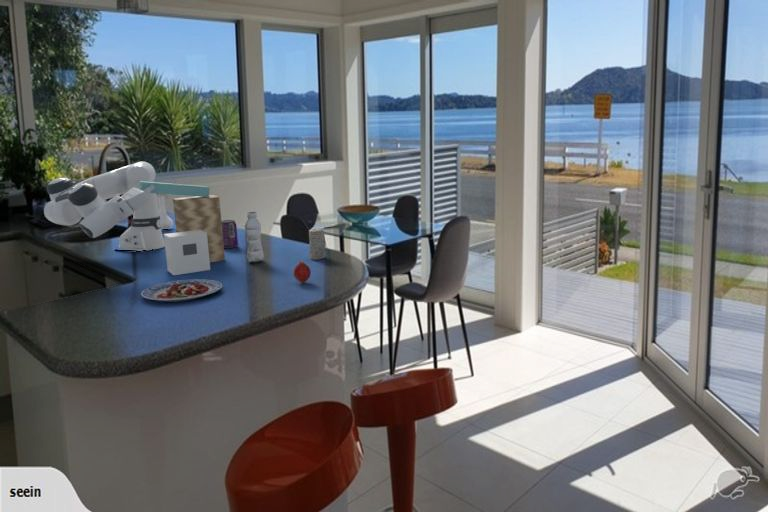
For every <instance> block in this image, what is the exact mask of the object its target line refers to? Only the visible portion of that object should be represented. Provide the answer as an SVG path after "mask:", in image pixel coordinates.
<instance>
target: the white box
mask: <svg viewBox="0 0 768 512" xmlns="http://www.w3.org/2000/svg"><path fill="white" fill-rule="evenodd" d="M163 239H164V242H165V247H164V249H165V257H166V268H167V272H169V273H170V274H171V275H172V276H178V275H184V274H192V273H197V272H205V271H211V262H210V260H209V250H208V239H207V233H206V232H204V231H202V230H193V231H185V232H177V233H176V232H170V233H163Z"/></svg>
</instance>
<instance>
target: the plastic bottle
mask: <svg viewBox="0 0 768 512" xmlns="http://www.w3.org/2000/svg"><path fill="white" fill-rule="evenodd" d="M246 215H247V216H246V218H247V220H246V222H245V223H244V230H245V234H246V241H247V253H246V257H247V261H248V262H249V263H258V262H262V261H263V260H264V255H265V254H264V251H263V246H262V236H261V235H262V234H261V231H262V224H261V222H260V221H259V220H258V218H257V217H258V213H257V212H256V211H249V212H247V213H246Z"/></svg>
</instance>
